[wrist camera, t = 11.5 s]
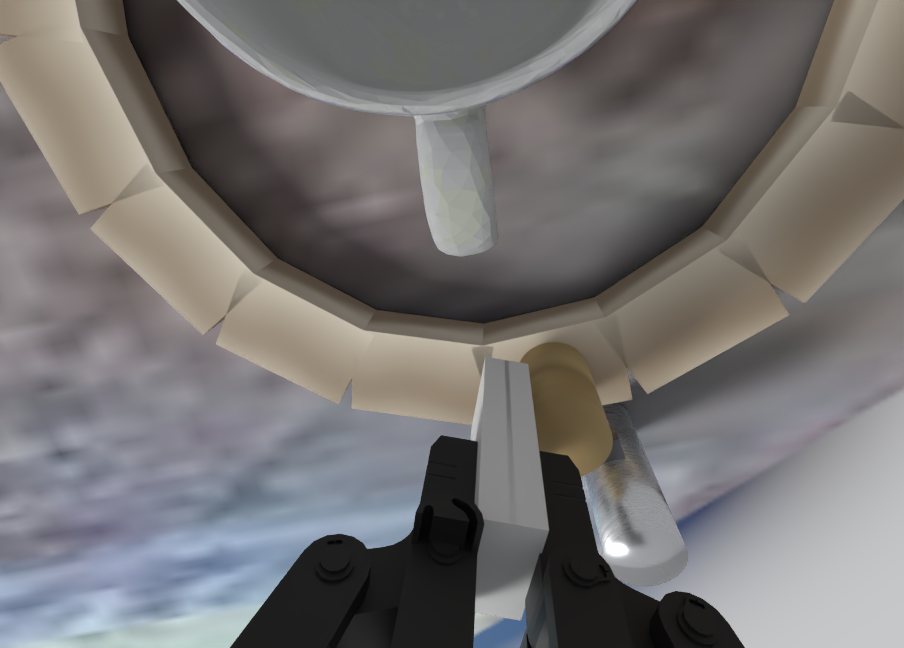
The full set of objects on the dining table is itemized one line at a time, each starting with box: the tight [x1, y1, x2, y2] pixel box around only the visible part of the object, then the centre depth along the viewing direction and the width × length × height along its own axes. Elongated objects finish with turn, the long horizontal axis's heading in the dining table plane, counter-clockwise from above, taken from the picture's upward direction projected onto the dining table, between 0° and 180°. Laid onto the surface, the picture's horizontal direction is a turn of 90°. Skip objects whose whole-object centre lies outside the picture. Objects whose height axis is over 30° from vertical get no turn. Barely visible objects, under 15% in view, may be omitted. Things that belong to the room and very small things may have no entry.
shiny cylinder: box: [585, 402, 688, 586], centre depth 17 cm, size 2×3×7 cm
